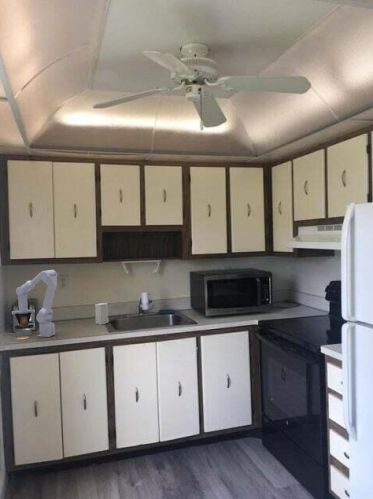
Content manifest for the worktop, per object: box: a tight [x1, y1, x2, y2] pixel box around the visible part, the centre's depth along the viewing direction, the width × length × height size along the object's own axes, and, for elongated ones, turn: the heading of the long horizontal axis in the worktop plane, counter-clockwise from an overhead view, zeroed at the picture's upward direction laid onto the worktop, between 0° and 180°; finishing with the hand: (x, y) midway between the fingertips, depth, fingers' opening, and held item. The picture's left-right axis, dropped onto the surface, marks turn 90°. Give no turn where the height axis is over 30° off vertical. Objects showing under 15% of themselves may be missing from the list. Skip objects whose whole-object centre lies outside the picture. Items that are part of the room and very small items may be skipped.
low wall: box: [14, 330, 32, 338], centre depth 271 cm, size 10×1×3 cm, turn 108°
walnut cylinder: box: [19, 316, 29, 328], centre depth 278 cm, size 5×5×6 cm
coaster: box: [15, 335, 30, 341], centre depth 265 cm, size 8×8×1 cm
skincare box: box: [94, 302, 109, 325], centre depth 303 cm, size 8×6×15 cm
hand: (23, 323), depth 278 cm, fingers closed on walnut cylinder, 5 cm apart
